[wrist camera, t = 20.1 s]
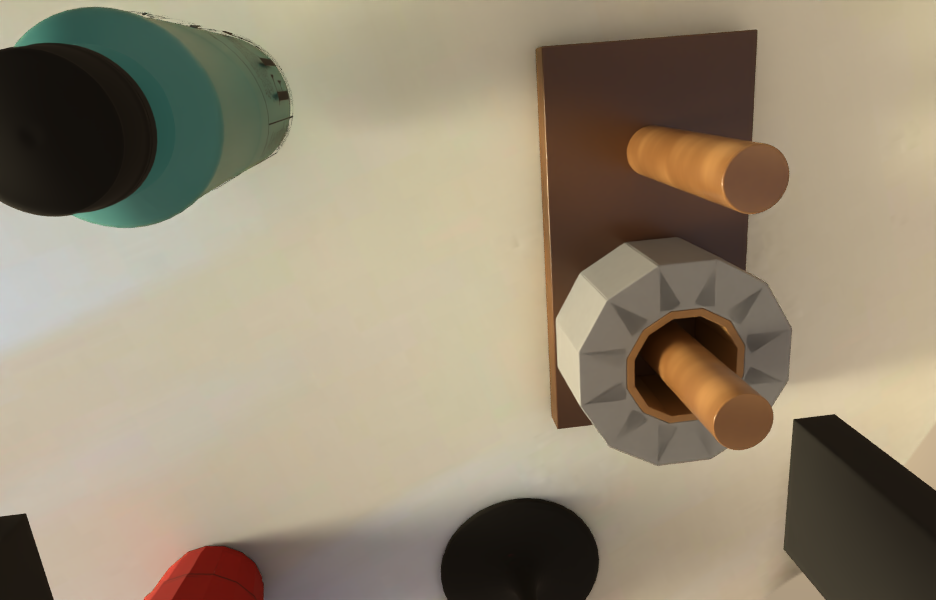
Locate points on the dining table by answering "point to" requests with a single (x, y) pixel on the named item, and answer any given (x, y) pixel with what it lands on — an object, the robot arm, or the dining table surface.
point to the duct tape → (646, 310)
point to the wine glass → (521, 554)
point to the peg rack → (655, 191)
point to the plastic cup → (210, 577)
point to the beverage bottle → (131, 116)
